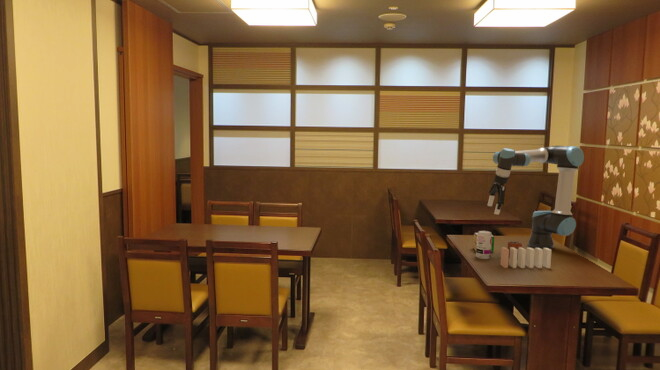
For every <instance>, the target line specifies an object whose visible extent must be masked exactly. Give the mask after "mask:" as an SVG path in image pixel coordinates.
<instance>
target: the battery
mask: <svg viewBox="0 0 660 370" xmlns="http://www.w3.org/2000/svg"><path fill="white" fill-rule="evenodd" d="M510 247H514V248H516V249H518V247H522V248H523V243H522V242H520V240H517V241H514V240H510V241H508V242H507V248H508V249H509V257H510ZM517 260H518V252H517Z"/></svg>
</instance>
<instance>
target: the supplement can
mask: <svg viewBox="0 0 660 370" xmlns="http://www.w3.org/2000/svg"><path fill="white" fill-rule="evenodd" d="M476 233H477V246H476V251H475V257H476V258H477V259H481V260H489V259H490V258H491V257H492V253H491V245H492V236H493V234H492V232H491V231H488V230H478V232H476Z"/></svg>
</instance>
